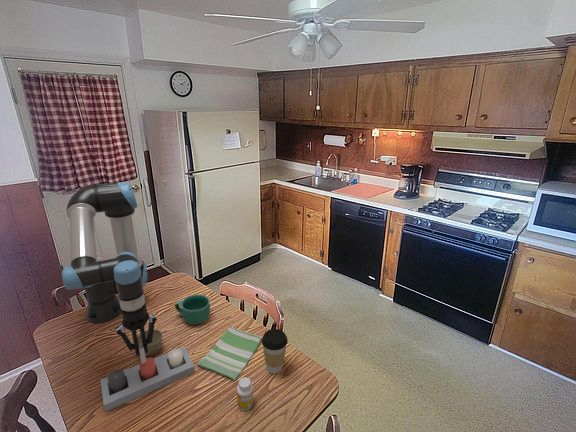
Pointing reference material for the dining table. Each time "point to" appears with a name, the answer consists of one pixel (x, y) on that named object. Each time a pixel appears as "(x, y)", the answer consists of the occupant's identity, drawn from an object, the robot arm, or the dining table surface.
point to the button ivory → (175, 358)
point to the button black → (117, 381)
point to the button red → (147, 369)
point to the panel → (148, 385)
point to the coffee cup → (274, 349)
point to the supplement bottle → (245, 394)
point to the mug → (194, 309)
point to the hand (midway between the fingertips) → (143, 360)
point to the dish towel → (231, 353)
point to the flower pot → (155, 343)
